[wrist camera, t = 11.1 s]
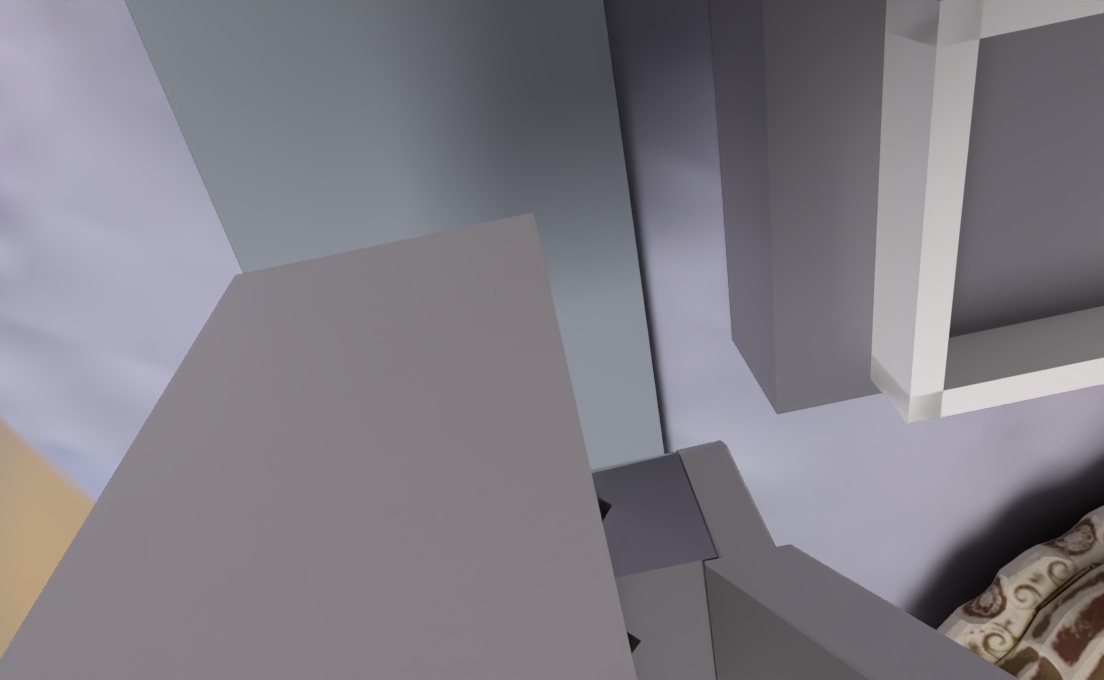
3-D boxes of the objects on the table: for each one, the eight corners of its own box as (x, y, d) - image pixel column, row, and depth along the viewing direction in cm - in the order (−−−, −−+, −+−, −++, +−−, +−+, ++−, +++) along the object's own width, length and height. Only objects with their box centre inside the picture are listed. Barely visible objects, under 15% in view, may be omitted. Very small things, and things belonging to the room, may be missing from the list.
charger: (235, 275, 10) (-336, 1206, 3) (533, 212, 10) (707, 995, 3) (353, 545, 13) (206, 1398, 5) (591, 495, 13) (762, 1285, 5)
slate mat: (58, -178, 12) (46, -181, 12) (561, -285, 12) (563, -290, 12) (367, 545, 20) (366, 556, 20) (666, 483, 20) (669, 494, 20)
